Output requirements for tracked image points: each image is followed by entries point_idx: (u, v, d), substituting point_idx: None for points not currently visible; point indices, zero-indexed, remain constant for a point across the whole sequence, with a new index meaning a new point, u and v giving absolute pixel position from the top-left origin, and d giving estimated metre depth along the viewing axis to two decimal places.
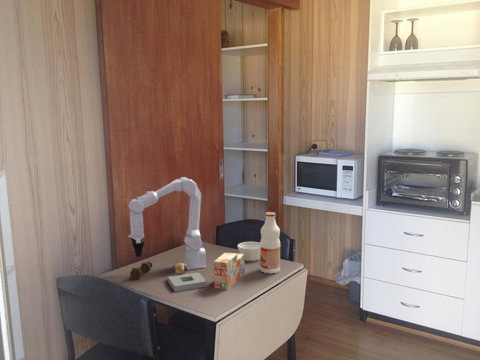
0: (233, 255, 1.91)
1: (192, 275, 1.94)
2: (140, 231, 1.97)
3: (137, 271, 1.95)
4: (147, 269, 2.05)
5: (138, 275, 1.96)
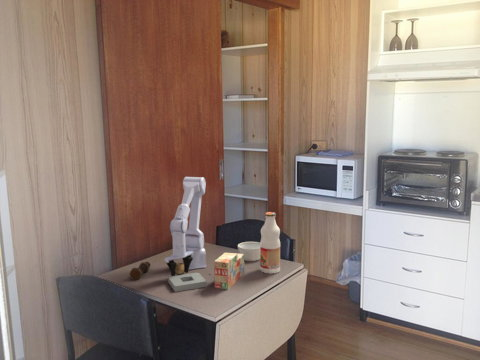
0: (233, 255, 1.91)
1: (192, 275, 1.94)
2: (176, 251, 1.93)
3: (137, 271, 1.95)
4: (146, 269, 2.05)
5: (138, 275, 1.95)
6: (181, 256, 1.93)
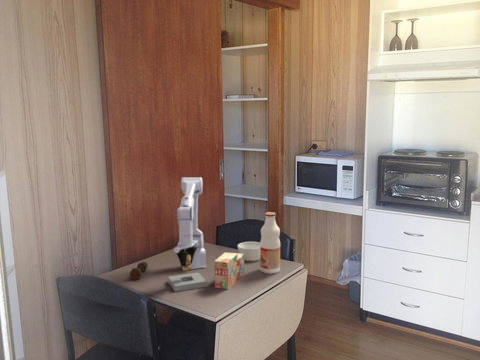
0: (233, 255, 1.91)
1: (192, 275, 1.94)
2: (184, 241, 1.84)
3: (137, 271, 1.95)
4: (144, 269, 2.05)
5: (138, 275, 1.95)
6: (190, 245, 1.85)
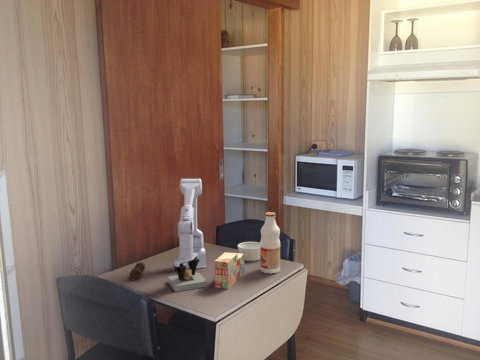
0: (233, 255, 1.92)
1: (192, 275, 1.94)
2: (185, 254, 1.85)
3: (137, 271, 1.95)
4: (142, 269, 2.05)
5: (138, 275, 1.95)
6: (190, 259, 1.86)
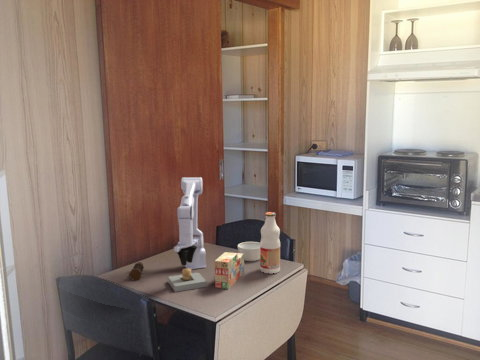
0: (233, 254, 1.92)
1: (192, 275, 1.94)
2: (185, 240, 1.84)
3: (137, 271, 1.95)
4: (141, 269, 2.05)
5: (138, 275, 1.95)
6: (190, 244, 1.85)
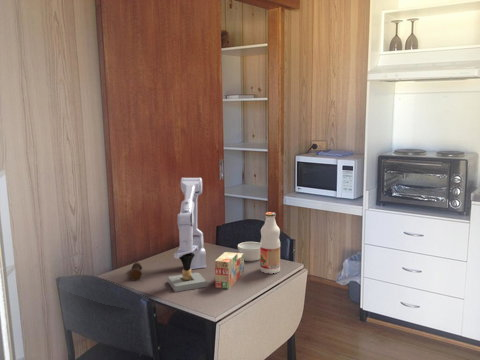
0: (233, 254, 1.92)
1: (192, 275, 1.94)
2: (185, 246, 1.85)
3: (138, 271, 1.95)
4: (139, 269, 2.05)
5: (139, 275, 1.95)
6: (190, 251, 1.85)
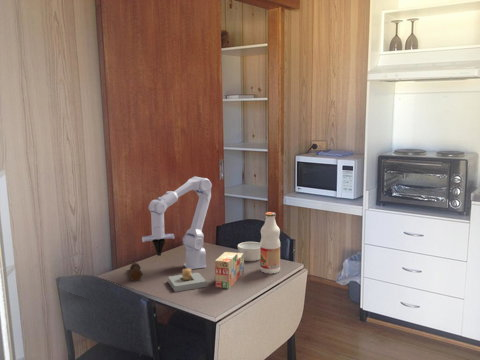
0: (233, 254, 1.92)
1: (192, 275, 1.94)
2: (153, 232, 1.95)
3: (138, 271, 1.95)
4: None
5: (139, 275, 1.95)
6: (157, 237, 1.95)
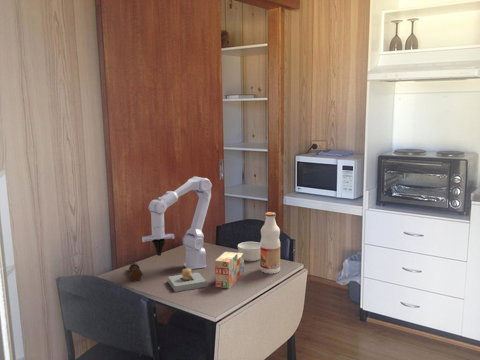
0: (233, 254, 1.92)
1: (192, 275, 1.94)
2: (153, 232, 1.95)
3: (138, 271, 1.95)
4: None
5: (139, 275, 1.95)
6: (157, 237, 1.95)
